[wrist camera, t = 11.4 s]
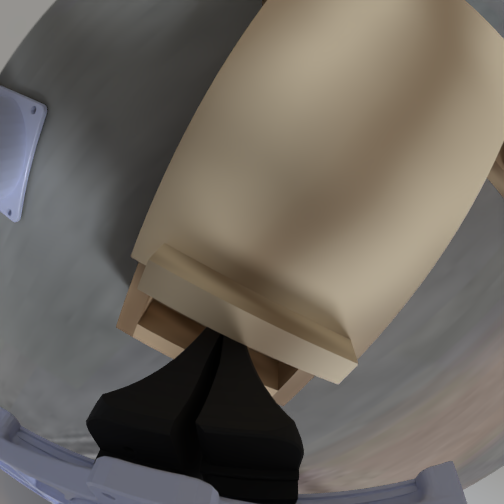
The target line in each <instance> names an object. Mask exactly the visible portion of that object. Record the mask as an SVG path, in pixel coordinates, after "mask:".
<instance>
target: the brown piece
mask: <svg viewBox="0 0 504 504" xmlns="http://www.w3.org/2000/svg"><path fill="white" fill-rule="evenodd" d="M266 1H267V0H262V6H263V5H264V4H265V2H266ZM487 178H488V179H489V181H490V182H491V183H492V184H493V185H494V187H495V188H496V189H497V190H498V192H499V193H500V194H501V195H502V197H503V198H504V142H503V144H502V146H501V148H500V151H499V153H498V155H497V157H496V160H495V162H494V164H493V166H492V168H491V170H490V172H489V174H488V176H487ZM145 267H146V265H144V264H142V263H140V262H139V263H138V265H137V268H136V271H135V273H134V276H133V279H132V282H131V284H130V287H129V290H128V293H127V296H126V298H125V301H124V304H123V307H122V310H121V313H120V316H119V319H118V322H117V325H116V328H118V329H120V330H122V331H123V332H125V333H127V334H128V335H130V336H132V337H134V338H135V339H137V340H139V341H141V342H142V343H144V344H146V345H148V346H150V347H152V348H153V349H155V350H157V351H159V352H161V353H163V354H165V355H167V356H169V357H171V358H173V359H175V358H176V357H177V356H178V355H179V354H180V353H181V352H183V351H184V350H185V349H186V348H187V347H188V346H189V345H190V344H191V343H192V342H193V341H194V340H195V339H196V338H197V337H198V336H199V335H200V334H201V332H202V331H203V330H204V329H205V328H206V327H207V326H205V325H203V324H201V323H199V322H197V321H195V320H193V319H191V318H189V317H187V316H185V315H183V314H182V313H180V312H178V311H176V310H174V309H172V308H170V307H169V306H167V305H165V304H163V303H161V302H160V301H158V300H156V299H154V298H152V297H151V296H149V295H147V294H145V293H144V292H142V291H140V290H138V289H137V287H138V285H139V282H140V279H141V277H142V274H143V272H144V269H145ZM247 348H248V351H249V354H250V357H251V360H252V362H253V365H254V367H255V369H256V371H257V373H258V375H259V377H260V379H261V381H262V382H263V384H264V386H265V387H266V389H267V390H268V392H269V393H270V394H271V396H272V397H273V399H274V400H275V401H276V403H277V404H279V405H282V406H284V405H285V404H287V403H288V402H289V401H290V400H291V399H292V398H293V397H294V396H295V395H296V394H297V393H298V392H299V391H300V390H301V389H302V388H303V387H304V386H305V385H306V384H307V383H308V382H309V381H310V380H311V379H312V378H313V377H314V376H315V375H312V374H310V373H307V372H305V371H303V370H300V369H298V368H295V367H293V366H291V365H288V364H286V363H284V362H281V361H279V360H277V359H274V358H272V357H270V356H268V355H265V354H263V353H261V352H259V351H257V350H254V349H252V348H250V347H248V346H247Z"/></svg>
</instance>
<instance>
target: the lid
mask: <svg viewBox="0 0 504 504" xmlns="http://www.w3.org/2000/svg"><path fill="white" fill-rule="evenodd" d="M503 142H504V39H503V38H502V37H501V36H500V34H499V33H498V32H497V31H496V30H495V29H494V28H493V27H492V26H491V25H490V24H489V23H488V22H487V21H486V20H485V19H484V18H483V17H482V16H481V15H480V14H479V13H478V12H477V11H476V10H475V9H474V8H473V7H472V6H471V5H470V4H468V3H467V2H466V1H465V0H267V1H266V2H265V4H264V5H263V6H262V8H261V9H260V11H259V12H258V13H257V15H256V16H255V17H254V19H253V20H252V22H251V23H250V25H249V26H248V27H247V29H246V30H245V32H244V33H243V35H242V36H241V38H240V39H239V41H238V42H237V44H236V45H235V47H234V48H233V50H232V52H231V53H230V55H229V56H228V58H227V59H226V61H225V63H224V64H223V66H222V67H221V69H220V71H219V72H218V74H217V76H216V77H215V79H214V81H213V82H212V84H211V86H210V88H209V89H208V91H207V93H206V94H205V96H204V98H203V100H202V102H201V103H200V105H199V107H198V109H197V111H196V112H195V114H194V116H193V118H192V120H191V122H190V124H189V126H188V127H187V129H186V131H185V133H184V135H183V137H182V139H181V141H180V143H179V145H178V147H177V149H176V151H175V153H174V155H173V157H172V159H171V161H170V164H169V166H168V168H167V170H166V172H165V174H164V176H163V179H162V181H161V183H160V185H159V187H158V190H157V192H156V194H155V197H154V199H153V201H152V204H151V206H150V208H149V211H148V213H147V215H146V218H145V220H144V223H143V225H142V228H141V230H140V233H139V235H138V238H137V241H136V243H135V246H134V248H133V251H132V254H131V257H132V258H134V259H135V260H137V261H139V262H140V263H142V264H144V265H146V267H145V269H144V272H143V274H142V277H141V279H140V282H139V285H138V287H137V289H138V290H140V291H142V292H144V293H145V294H147V295H149V296H151V297H152V298H154V299H156V300H158V301H160V302H161V303H163V304H165V305H167V306H169V307H170V308H172V309H174V310H176V311H178V312H180V313H182V314H183V315H185V316H187V317H189V318H191V319H193V320H195V321H197V322H199V323H201V324H203V325H205V326H207V327H209V328H211V329H213V330H215V331H217V332H219V333H221V334H223V335H225V336H227V337H229V338H231V339H233V340H235V341H237V342H239V343H241V344H244V345H246V346H248V347H250V348H252V349H254V350H257V351H259V352H261V353H263V354H265V355H268V356H270V357H272V358H274V359H277V360H279V361H281V362H284V363H286V364H288V365H291V366H293V367H295V368H298V369H300V370H303V371H305V372H307V373H310V374H312V375H315V376H317V377H320V378H322V379H325V380H328V381H330V382H333V383H335V384H339V383H340V382H341V381H342V380H343V379H344V378H345V377H346V376H347V375H348V374H349V373H350V372H351V371H352V370H353V369H354V368H355V367H356V366H357V365H358V361H357V359H358V358H359V357H360V356H361V355H362V354H363V353H364V352H365V351H366V350H367V349H368V348H369V346H370V345H371V344H372V343H373V342H374V341H375V340H376V339H377V338H378V336H379V335H380V334H381V333H382V332H383V331H384V329H385V328H386V327H387V326H388V325H389V324H390V322H391V321H392V320H393V319H394V318H395V316H396V315H397V314H398V313H399V312H400V310H401V309H402V308H403V307H404V305H405V304H406V303H407V302H408V300H409V299H410V298H411V296H412V295H413V294H414V292H415V291H416V290H417V289H418V287H419V286H420V284H421V283H422V282H423V280H424V279H425V278H426V276H427V275H428V274H429V272H430V271H431V269H432V268H433V266H434V265H435V264H436V262H437V261H438V259H439V258H440V256H441V255H442V253H443V252H444V250H445V249H446V247H447V246H448V244H449V243H450V241H451V240H452V238H453V236H454V235H455V233H456V232H457V230H458V228H459V227H460V225H461V223H462V222H463V220H464V218H465V217H466V215H467V213H468V212H469V210H470V208H471V206H472V204H473V203H474V201H475V199H476V197H477V195H478V194H479V192H480V190H481V188H482V186H483V184H484V182H485V180H486V178H487V176H488V174H489V172H490V170H491V168H492V166H493V164H494V162H495V160H496V157H497V155H498V153H499V151H500V148H501V146H502V144H503Z"/></svg>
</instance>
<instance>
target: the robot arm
mask: <svg viewBox="0 0 504 504" xmlns="http://www.w3.org/2000/svg"><path fill="white" fill-rule="evenodd" d="M35 109H36V112H35ZM46 115H47V107H46V105H45V104H42V103H40V102H38V101H36V100H33V99H31V98H29V97H27V96H24V95H22V94H20V93H17V92H15V91H13V90H10V89H8V88H6V87H3V86H1V85H0V211H1V212H2V213H3V214H4V215H5V216H7V217H8V218H9V219H10V220H12V221H13V222H17V221H19V220H20V218H21V213H22V207H23V202H24V196H25V191H26V186H27V181H28V177H29V173H30V168H31V164H32V160H33V157H34V153H35V149H36V146H37V142H38V139H39V136H40V133H41V129H42V126H43V123H44V120H45V117H46ZM86 425H87V428H88V430H89V432H90V434H91V435H92V437H93V438H94V440H95V441H96V443H97V445H98V446H99V448H100V451H99V453H98V455H97V457H96V459H95V460H93V459H90V458H88V457H85V456H83V455H80V454H78V453H75V452H73V451H71V450H68V449H66V448H64V447H62V446H59V445H57V444H55V443H53V442H51V441H49V440H47V439H45V438H43V437H41V436H39V435H37V434H35V433H33V432H31V431H29V430H28V429H26V428H24V427H22V426H21V425H20V423H19V421H18V420H17V419H16V418H15V416H14V415H13V414H11V413H10V412H8V411H7V410H5V409H3V408H2V407H0V468H1V469H2V470H3V471H4V472H6V473H7V474H9V475H10V476H11V477H13V478H14V479H16V480H17V481H19V482H20V483H22V484H23V485H25V486H26V487H27V488H29V489H30V490H32V491H33V492H35V493H37V494H38V495H40V496H41V497H43V498H45V499H46V500H48V501H49V502H51V503H53V504H467V502H466V499H465V496H464V492H463V489H462V486H461V483H460V480H459V477H458V474H457V472H456V469H455V466H454V463H453V461H449V462H445V463H442V464H439V465H435V466H432V467H429V468H426V469H425V470H423V471H422V472H420V473H419V474H418V476H417V477H416V478H415V479H411V480H407V481H403V482H398V483H393V484H388V485H383V486H378V487H372V488H365V489H358V490H350V491H341V492H330V493H315V494H298V480H299V467H300V464H301V461H302V459H303V455H304V449H303V444H302V440H301V437H300V434H299V432H298V429H297V427H296V424H295V422H294V421H293V420H292V419H291V418H290V417H289V416H288V415H287V414H286V413H285V412H284V411H283V410H282V408H281V407H280V406H279V405H278V404H277V403H276V401H275V400H274V399H273V397H272V396H271V394H270V393H269V392H268V390H267V389H266V387H265V386H264V384H263V382H262V381H261V379H260V377H259V375H258V373H257V371H256V369H255V367H254V365H253V362H252V360H251V357H250V354H249V351H248V348H247V346H246V345H244V344H241V343H239V342H237V341H235V340H233V339H231V338H229V337H227V336H225V335H223V334H221V333H219V332H217V331H215V330H213V329H211V328H209V327H206V328H205V329H204V330H203V331H202V332H201V334H200V335H199V336H198V337H197V338H196V339H195V340H194V341H193V342H192V343H191V344H190V345H189V346H188V347H187V348H186V349H185V350H184V351H183V352H181V353H180V354H179V355H178V356H177V357H176V358H175V359H173V360H172V361H171V362H169V363H168V364H167V365H165V366H164V367H163V368H161V369H159V370H158V371H156V372H154V373H153V374H151V375H149V376H148V377H146V378H144V379H142V380H140V381H138V382H136V383H133V384H131V385H129V386H126V387H124V388H121V389H118V390H115V391H112V392H109V393H105V394H102V396H101V397H100V399H99V400H98V401H97V403H96V405H95V406H94V408H93V410H92V412H91V413H90V415H89V417H88V419H87V420H86Z"/></svg>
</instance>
